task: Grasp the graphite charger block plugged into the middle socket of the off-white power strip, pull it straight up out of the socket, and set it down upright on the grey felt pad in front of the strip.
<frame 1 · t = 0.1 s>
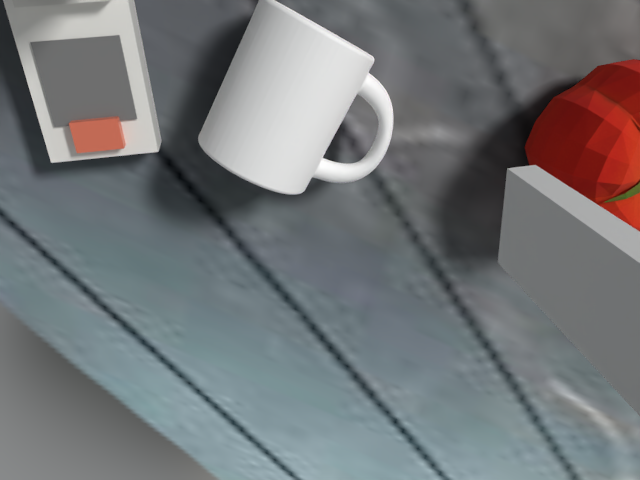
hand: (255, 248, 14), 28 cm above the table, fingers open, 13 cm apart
mug: (303, 98, 40), on the table
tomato: (584, 133, 45), on the table
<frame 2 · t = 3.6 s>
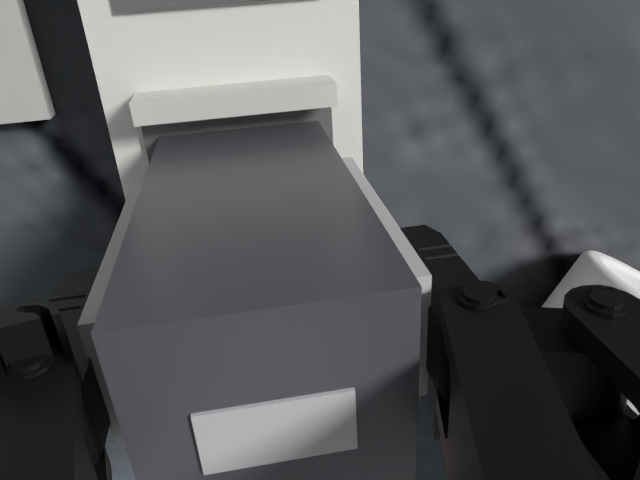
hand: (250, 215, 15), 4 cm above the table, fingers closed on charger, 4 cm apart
mug: (575, 358, 26), on the table
charger: (249, 201, 16), point 3 cm above the table, touching gripper, power strip
power strip: (245, 171, 19), on the table
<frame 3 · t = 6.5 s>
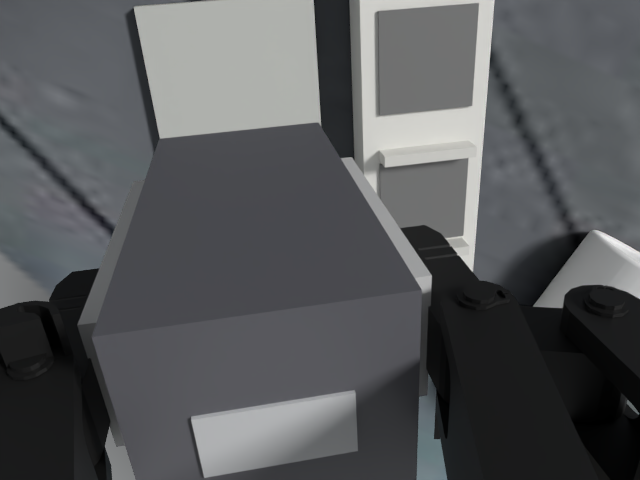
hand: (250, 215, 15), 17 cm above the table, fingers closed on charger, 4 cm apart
mug: (584, 298, 42), on the table
charger: (249, 203, 16), point 16 cm above the table, touching gripper
felt pad: (236, 88, 30), on the table
power strip: (409, 185, 35), on the table
when the fingers open (3 cm above the table, at t = 9.5 s): charger drops 2 cm, resting on felt pad.
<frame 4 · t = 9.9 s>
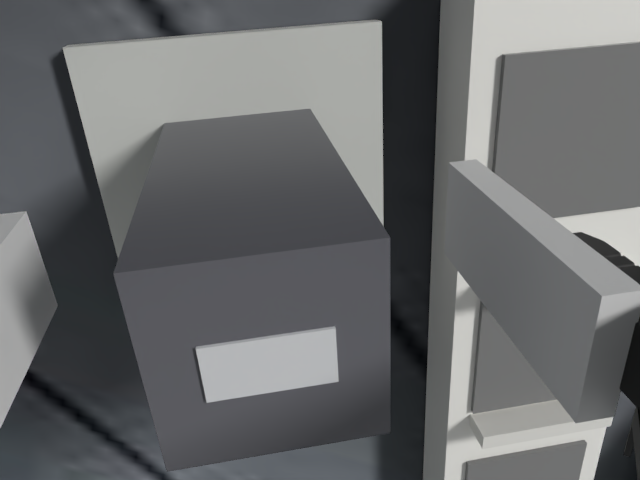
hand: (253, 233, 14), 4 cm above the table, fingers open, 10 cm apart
charger: (247, 183, 18), point 1 cm above the table, touching felt pad
felt pad: (246, 176, 18), on the table
power strip: (510, 308, 23), on the table
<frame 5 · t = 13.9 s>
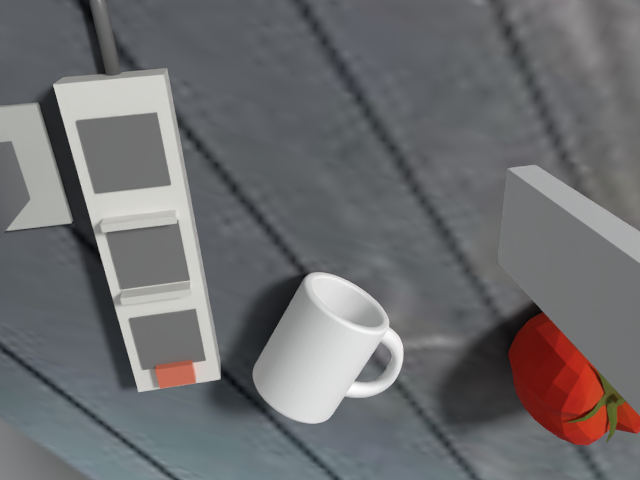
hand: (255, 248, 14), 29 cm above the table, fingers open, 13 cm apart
mug: (331, 324, 51), on the table
power strip: (153, 239, 44), on the table
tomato: (557, 332, 56), on the table
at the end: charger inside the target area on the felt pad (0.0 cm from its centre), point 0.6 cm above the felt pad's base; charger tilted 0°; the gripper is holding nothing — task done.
